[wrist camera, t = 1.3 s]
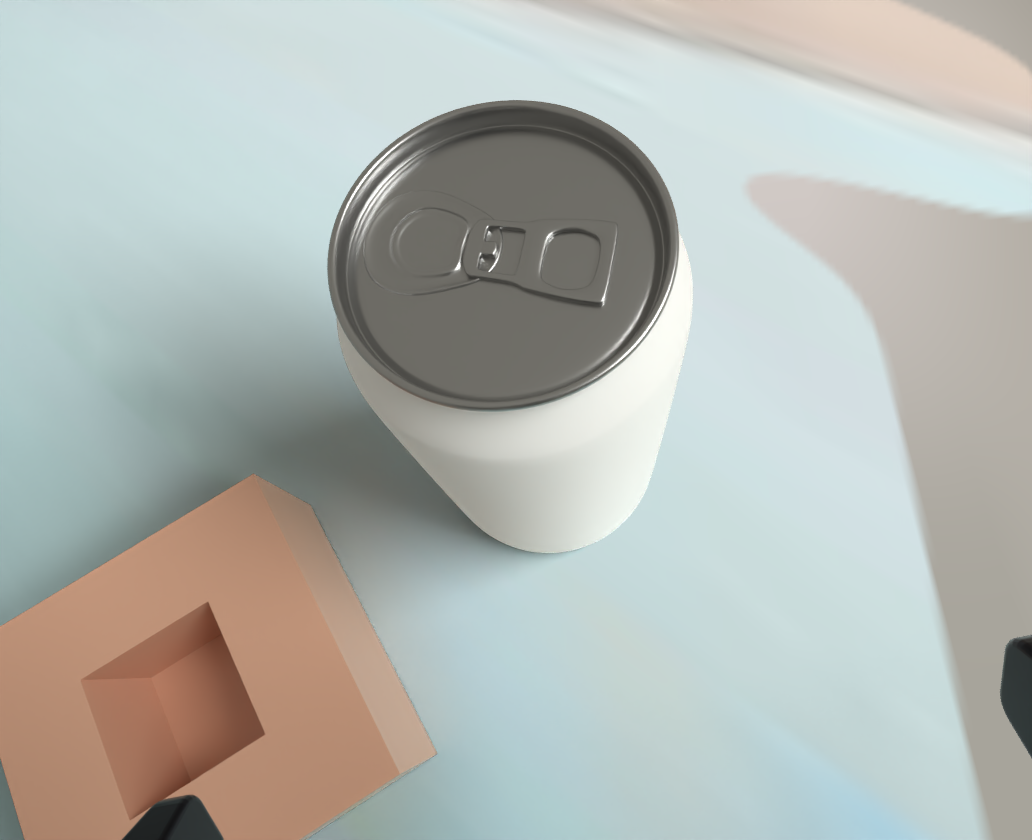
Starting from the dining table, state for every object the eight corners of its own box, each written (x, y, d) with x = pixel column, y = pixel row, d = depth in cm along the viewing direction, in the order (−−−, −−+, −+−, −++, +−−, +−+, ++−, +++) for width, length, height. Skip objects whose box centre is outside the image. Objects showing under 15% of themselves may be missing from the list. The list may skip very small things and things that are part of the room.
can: (472, 345, 24) (360, 64, 13) (667, 373, 23) (732, 93, 12) (426, 534, 22) (247, 400, 11) (636, 575, 21) (678, 473, 10)
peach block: (437, 753, 20) (400, 773, 16) (172, 927, 20) (69, 989, 16) (310, 505, 23) (253, 473, 19) (73, 649, 22) (-34, 646, 19)
